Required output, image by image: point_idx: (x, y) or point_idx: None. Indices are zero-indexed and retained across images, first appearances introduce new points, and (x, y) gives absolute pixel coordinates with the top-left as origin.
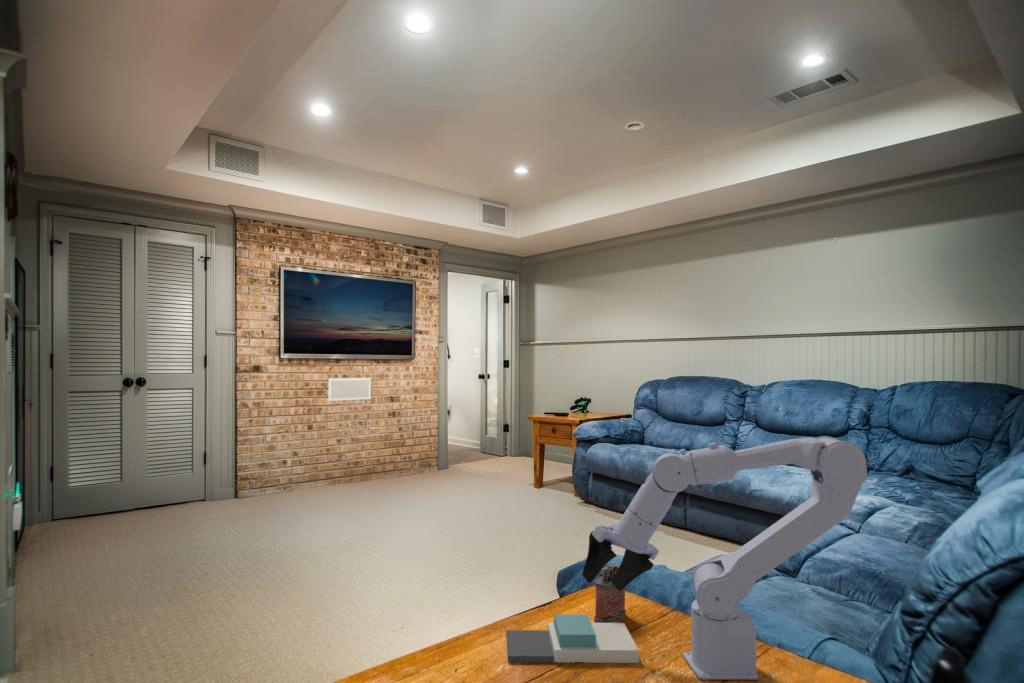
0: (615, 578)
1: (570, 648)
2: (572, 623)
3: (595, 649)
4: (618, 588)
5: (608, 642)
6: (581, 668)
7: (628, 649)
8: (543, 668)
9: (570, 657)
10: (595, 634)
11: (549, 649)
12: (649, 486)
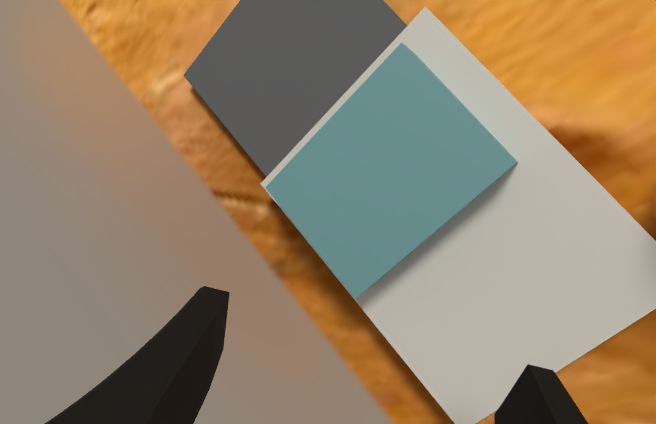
0: (532, 410)
1: None
2: (379, 166)
3: None
4: (499, 420)
5: (438, 310)
6: (309, 266)
7: (439, 395)
8: (237, 177)
9: None
10: (355, 297)
11: (294, 142)
12: None
